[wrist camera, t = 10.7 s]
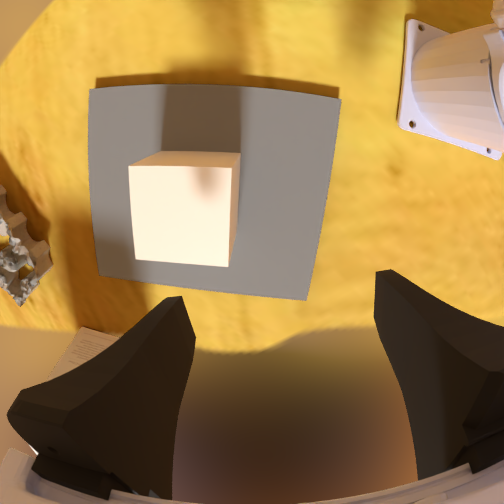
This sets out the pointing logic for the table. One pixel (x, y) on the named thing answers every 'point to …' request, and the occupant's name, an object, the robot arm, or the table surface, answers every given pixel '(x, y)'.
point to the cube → (185, 206)
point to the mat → (250, 183)
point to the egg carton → (20, 254)
